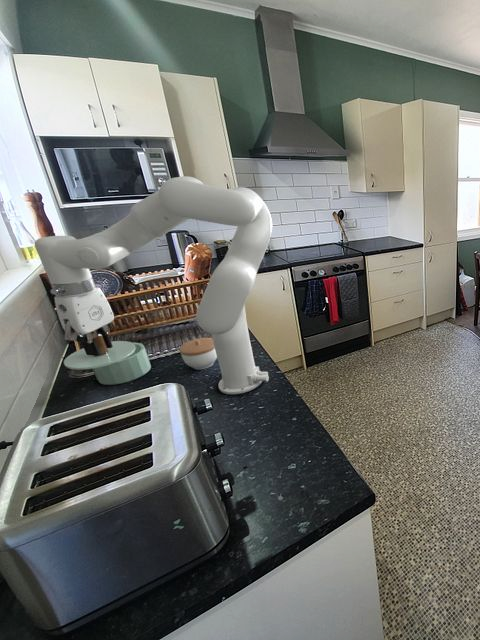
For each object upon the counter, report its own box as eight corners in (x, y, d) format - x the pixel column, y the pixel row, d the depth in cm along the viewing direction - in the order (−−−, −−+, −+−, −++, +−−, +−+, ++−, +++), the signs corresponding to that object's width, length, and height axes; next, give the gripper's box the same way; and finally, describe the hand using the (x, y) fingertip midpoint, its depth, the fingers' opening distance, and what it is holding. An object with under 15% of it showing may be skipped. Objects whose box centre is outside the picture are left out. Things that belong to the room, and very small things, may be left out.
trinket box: (204, 375, 113) (198, 350, 109) (177, 370, 115) (169, 346, 111) (228, 359, 123) (222, 335, 119) (202, 355, 125) (195, 331, 121)
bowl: (160, 362, 120) (154, 343, 116) (129, 385, 107) (121, 364, 104) (121, 361, 119) (114, 342, 116) (85, 384, 107) (76, 363, 104)
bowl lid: (149, 345, 101) (142, 324, 98) (106, 372, 88) (97, 349, 85) (98, 343, 101) (90, 322, 98) (48, 370, 88) (37, 347, 85)
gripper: (57, 299, 79) (86, 367, 86) (116, 277, 94) (137, 337, 101) (24, 297, 79) (56, 366, 86) (89, 276, 94) (111, 336, 101)
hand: (100, 350), depth 94 cm, fingers closed on bowl lid, 3 cm apart
